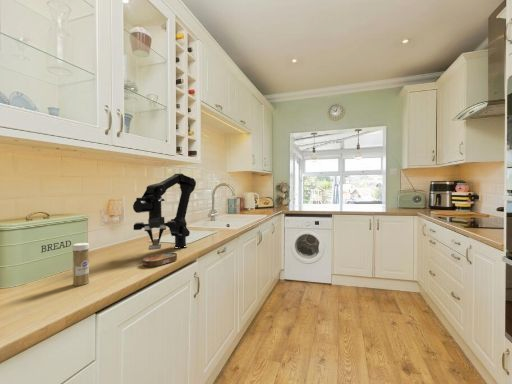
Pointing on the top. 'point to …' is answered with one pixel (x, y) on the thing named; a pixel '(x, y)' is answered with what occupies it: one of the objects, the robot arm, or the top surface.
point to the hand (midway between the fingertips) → (155, 242)
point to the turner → (155, 245)
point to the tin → (159, 259)
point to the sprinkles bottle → (80, 264)
